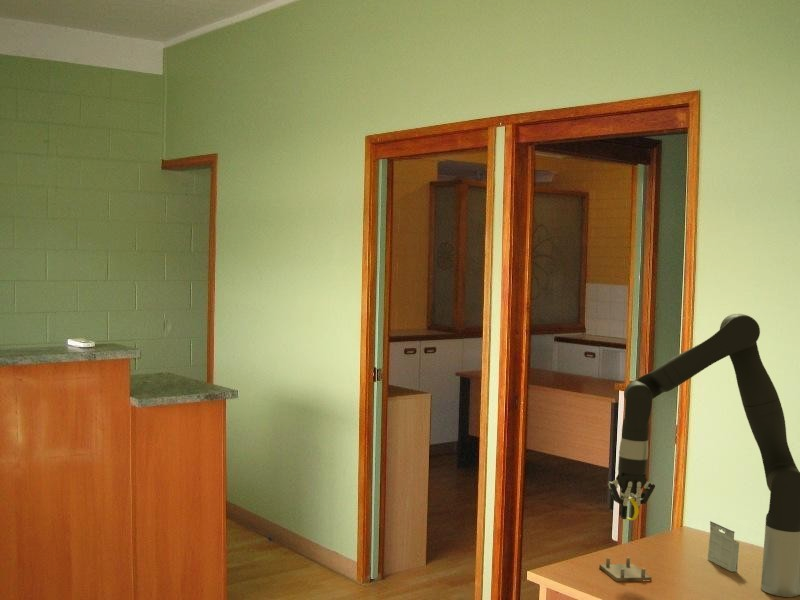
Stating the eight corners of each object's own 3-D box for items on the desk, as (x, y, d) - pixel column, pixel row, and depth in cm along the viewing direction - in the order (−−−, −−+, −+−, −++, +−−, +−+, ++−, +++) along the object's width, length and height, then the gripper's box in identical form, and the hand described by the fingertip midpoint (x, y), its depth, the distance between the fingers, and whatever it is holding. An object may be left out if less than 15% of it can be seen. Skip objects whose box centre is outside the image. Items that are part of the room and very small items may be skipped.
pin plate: (632, 567, 260) (633, 556, 259) (651, 581, 249) (652, 570, 249) (599, 568, 257) (600, 557, 257) (616, 581, 247) (617, 570, 247)
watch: (640, 522, 251) (641, 500, 251) (632, 522, 250) (634, 501, 249) (624, 516, 256) (625, 494, 256) (616, 516, 255) (618, 495, 254)
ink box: (738, 572, 261) (741, 531, 260) (731, 572, 260) (734, 532, 260) (713, 559, 272) (716, 520, 271) (706, 559, 271) (709, 520, 271)
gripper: (615, 458, 247) (610, 522, 248) (663, 459, 250) (658, 522, 251) (603, 452, 254) (598, 514, 255) (650, 453, 257) (645, 515, 258)
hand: (628, 518), depth 253 cm, fingers closed on watch, 2 cm apart
